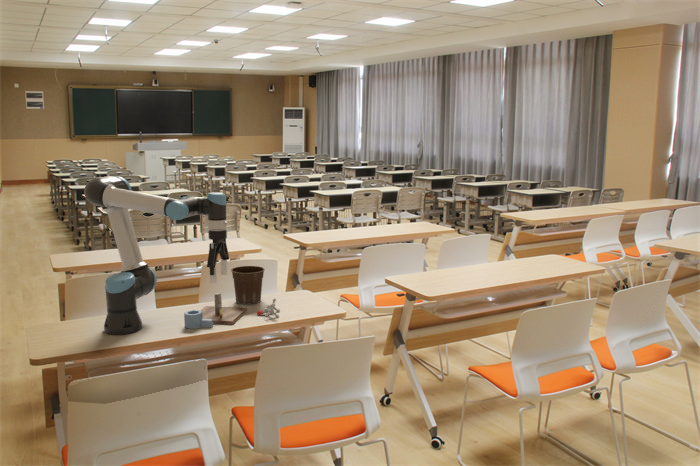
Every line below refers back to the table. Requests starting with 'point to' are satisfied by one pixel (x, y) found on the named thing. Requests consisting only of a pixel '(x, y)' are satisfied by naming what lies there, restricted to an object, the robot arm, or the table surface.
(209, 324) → the flange collar
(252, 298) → the plant pot
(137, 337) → the table surface
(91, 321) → the table surface
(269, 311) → the molecular model
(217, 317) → the post base
